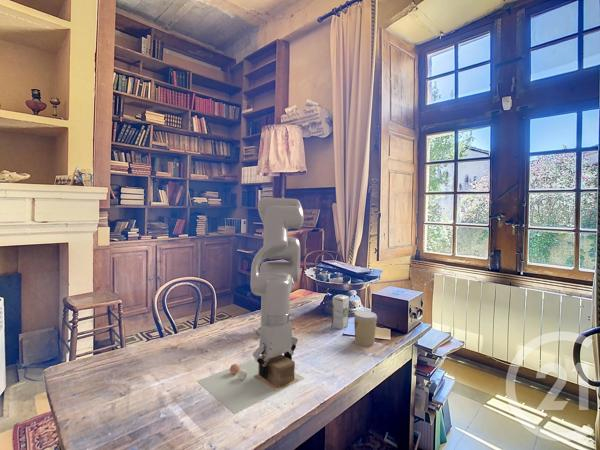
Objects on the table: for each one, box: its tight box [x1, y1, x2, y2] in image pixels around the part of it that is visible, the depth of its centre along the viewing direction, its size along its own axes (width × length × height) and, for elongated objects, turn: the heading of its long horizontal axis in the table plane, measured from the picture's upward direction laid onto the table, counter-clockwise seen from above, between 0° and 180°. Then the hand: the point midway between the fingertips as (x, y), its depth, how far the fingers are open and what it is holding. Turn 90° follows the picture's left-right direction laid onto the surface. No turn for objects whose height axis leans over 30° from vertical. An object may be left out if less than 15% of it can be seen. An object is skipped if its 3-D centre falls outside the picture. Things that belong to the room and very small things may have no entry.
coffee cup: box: [353, 310, 378, 347], centre depth 131 cm, size 9×9×12 cm
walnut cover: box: [258, 354, 296, 388], centre depth 99 cm, size 10×6×6 cm, turn 44°
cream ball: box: [237, 369, 247, 380], centre depth 99 cm, size 3×3×3 cm
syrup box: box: [330, 294, 350, 330], centre depth 148 cm, size 6×6×14 cm
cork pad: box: [254, 374, 298, 391], centre depth 99 cm, size 9×11×1 cm
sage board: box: [196, 358, 306, 415], centre depth 99 cm, size 26×21×1 cm
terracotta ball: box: [229, 363, 239, 374], centre depth 102 cm, size 3×3×3 cm
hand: (276, 371), depth 99 cm, fingers open, 9 cm apart
